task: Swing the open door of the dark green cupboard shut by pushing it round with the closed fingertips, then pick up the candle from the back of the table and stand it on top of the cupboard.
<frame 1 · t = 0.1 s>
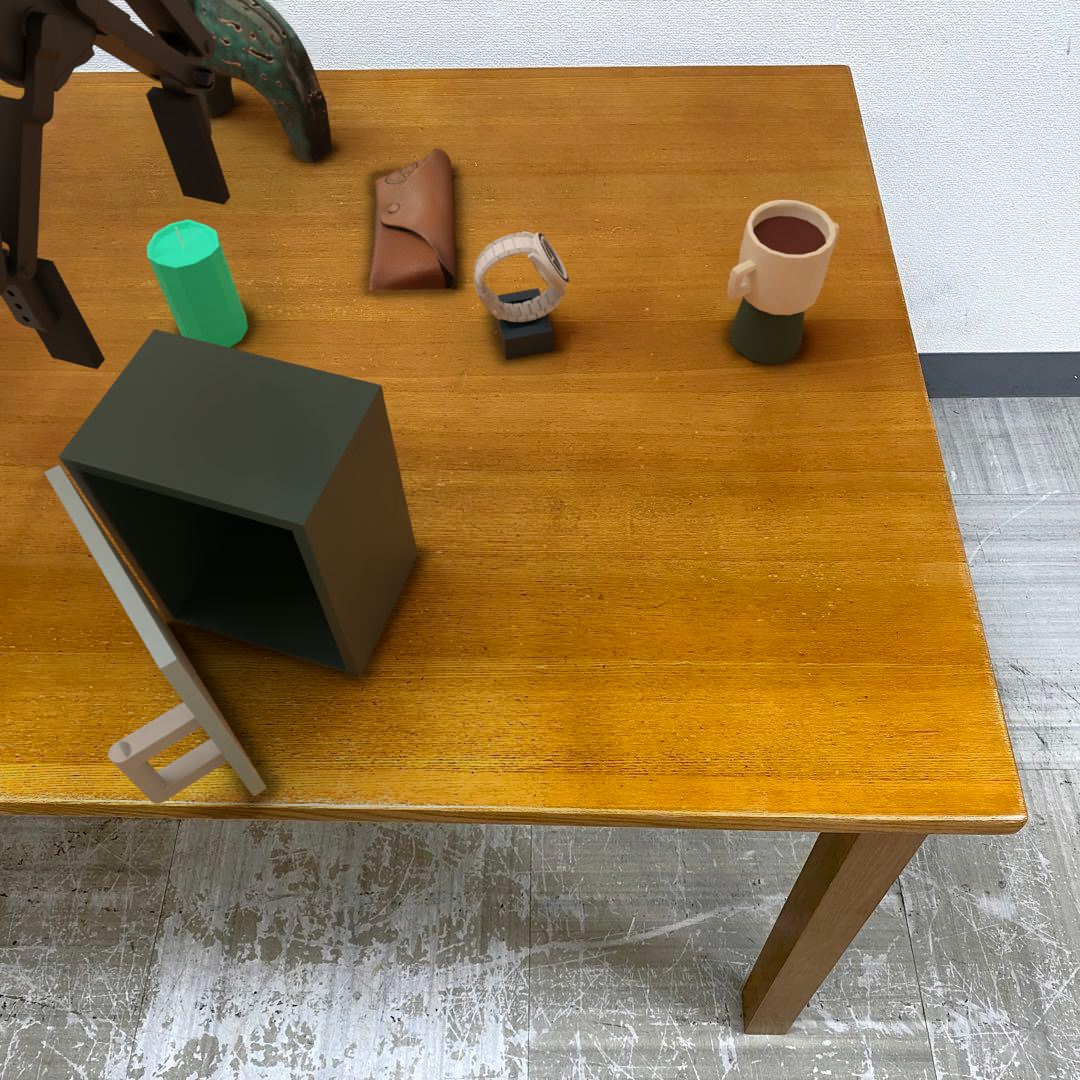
hand: (147, 273, 56), 28 cm above the table, tool pointing down, fingers open, 13 cm apart
character mug: (763, 346, 91), on the table
sunglasses case: (413, 236, 100), on the table
cabinet door: (126, 665, 63), point 10 cm above the table, hinge at 35.0°
watch: (523, 339, 92), on the table
candle: (217, 335, 93), on the table
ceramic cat: (263, 132, 110), on the table
cabinet: (295, 589, 78), on the table
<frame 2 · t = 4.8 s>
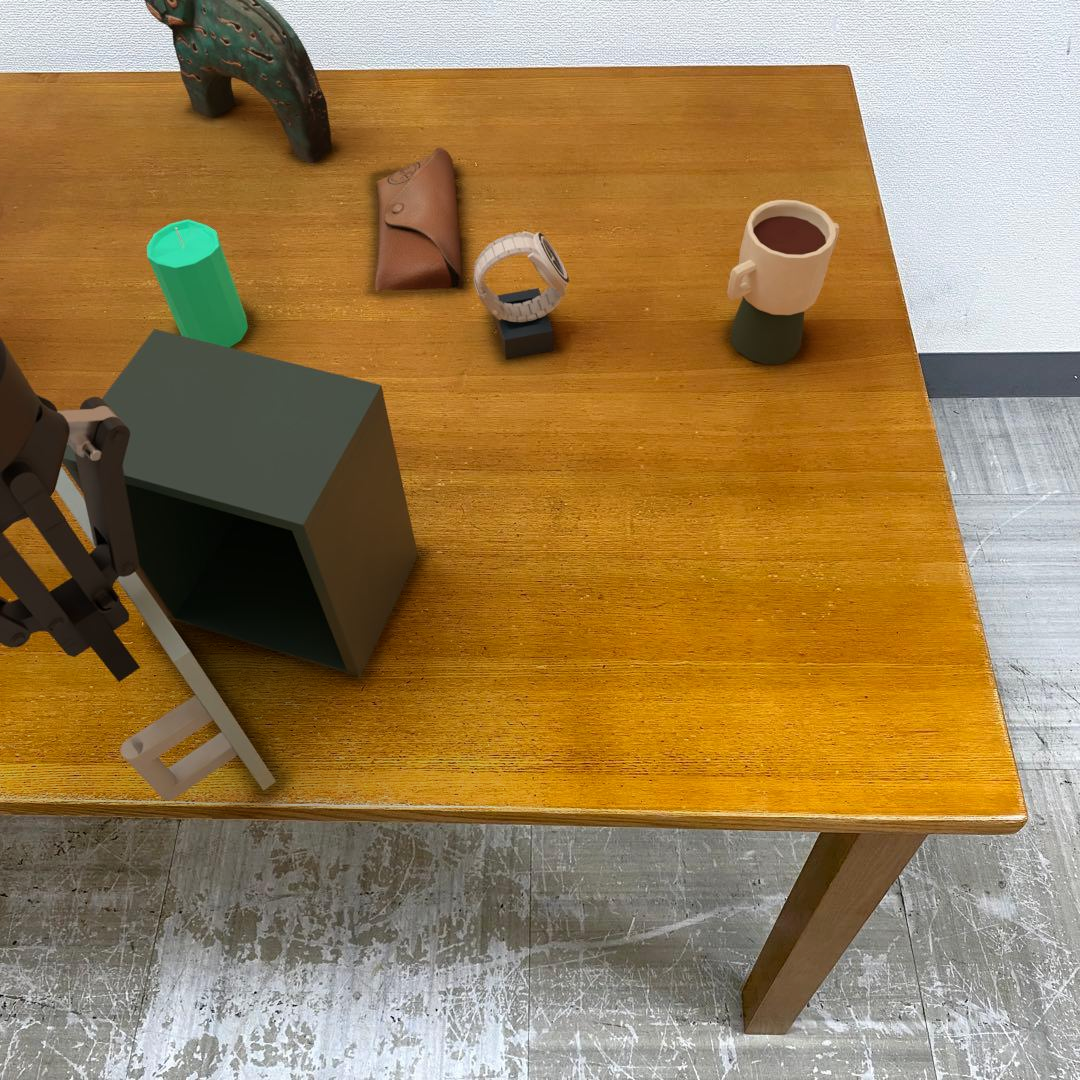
hand: (117, 658, 58), 15 cm above the table, tool pointing down, fingers closed
cabinet door: (132, 663, 63), point 10 cm above the table, hinge at 32.3°, touching gripper
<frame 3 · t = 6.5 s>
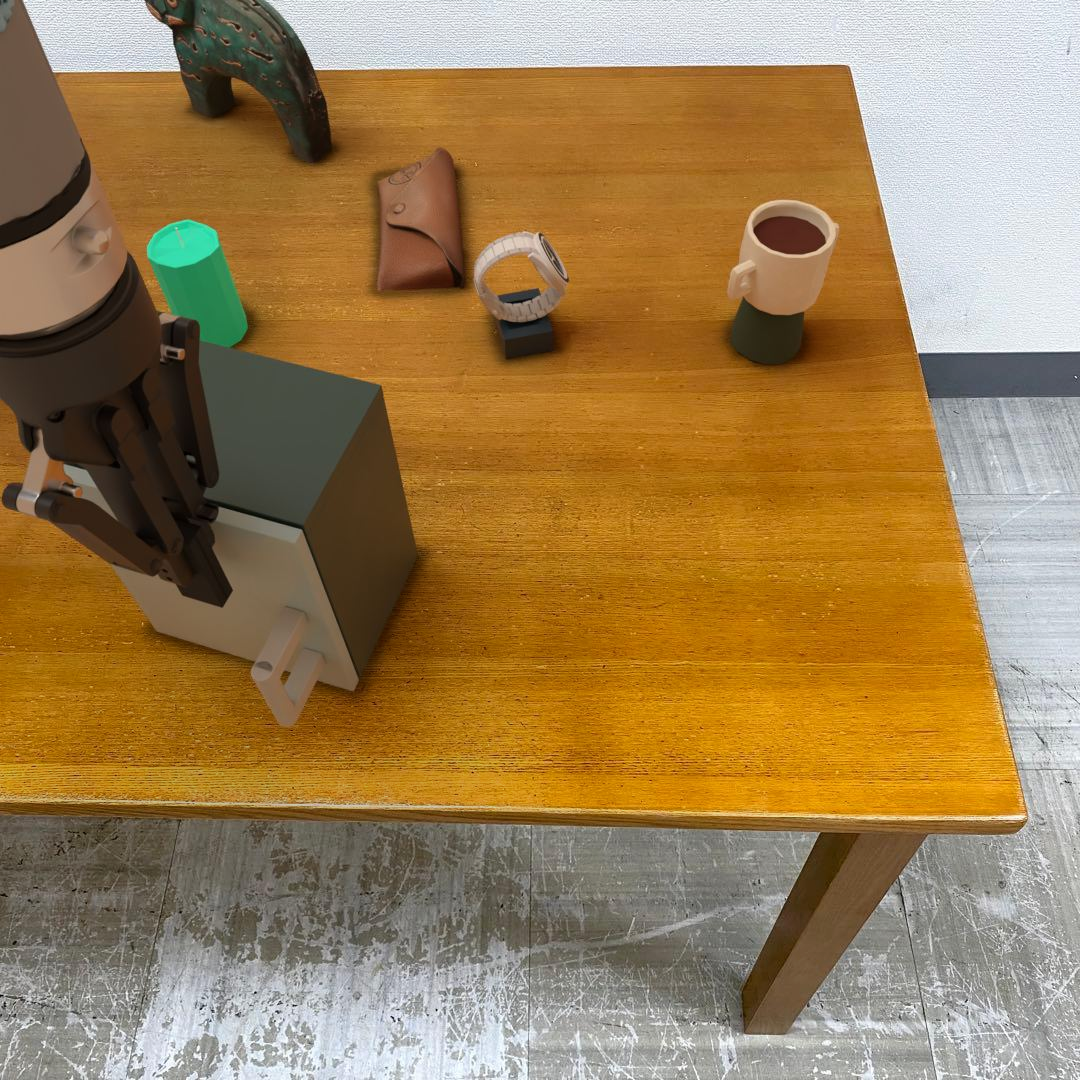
hand: (207, 592, 60), 15 cm above the table, tool pointing down, fingers closed
cabinet door: (200, 622, 65), point 10 cm above the table, hinge at -0.3°, touching gripper
everything else where it was.
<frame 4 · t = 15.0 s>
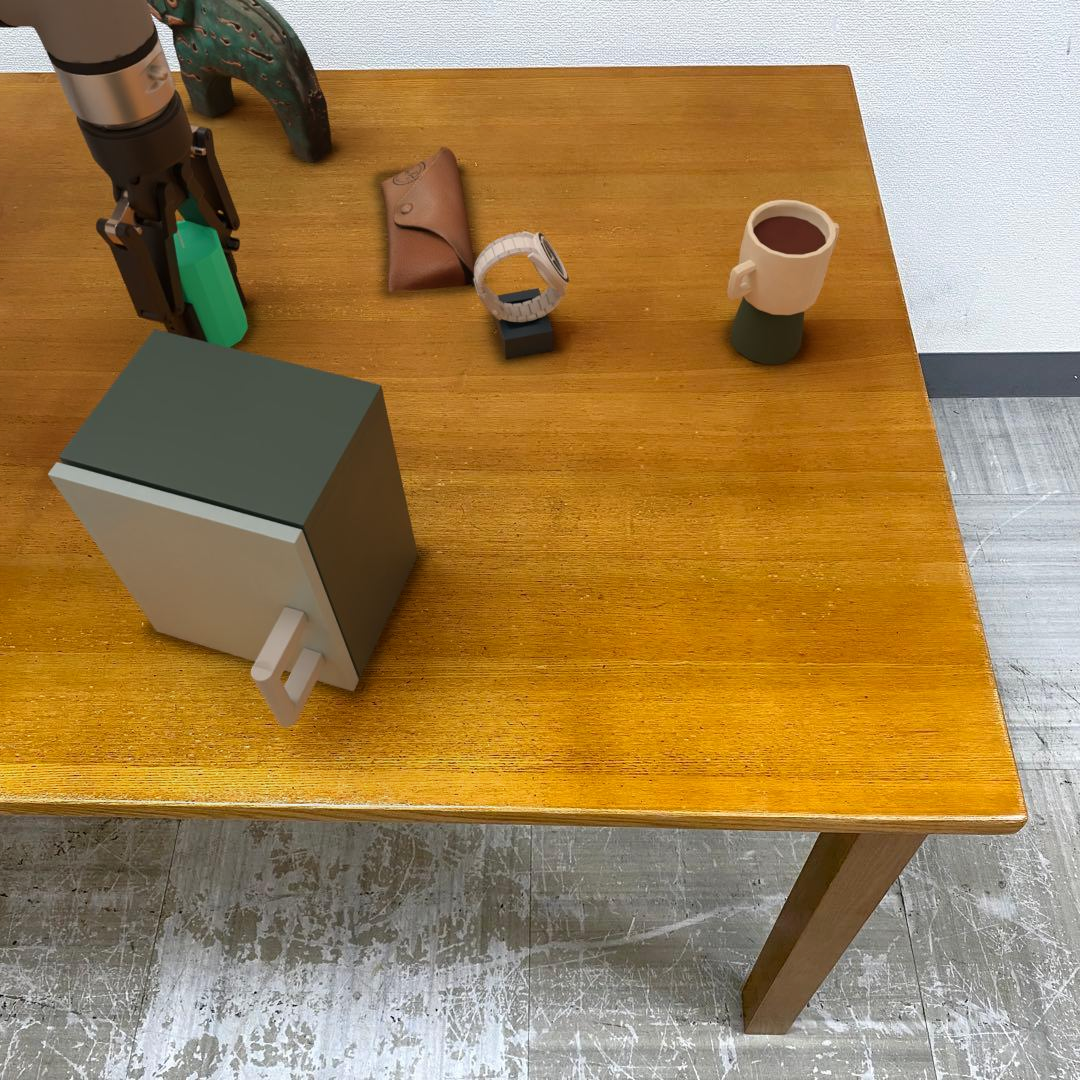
hand: (216, 331, 93), 0 cm above the table, tool pointing down, fingers closed on candle, 6 cm apart
cabinet door: (200, 622, 65), point 10 cm above the table, hinge at -0.3°
candle: (217, 335, 93), on the table, touching gripper
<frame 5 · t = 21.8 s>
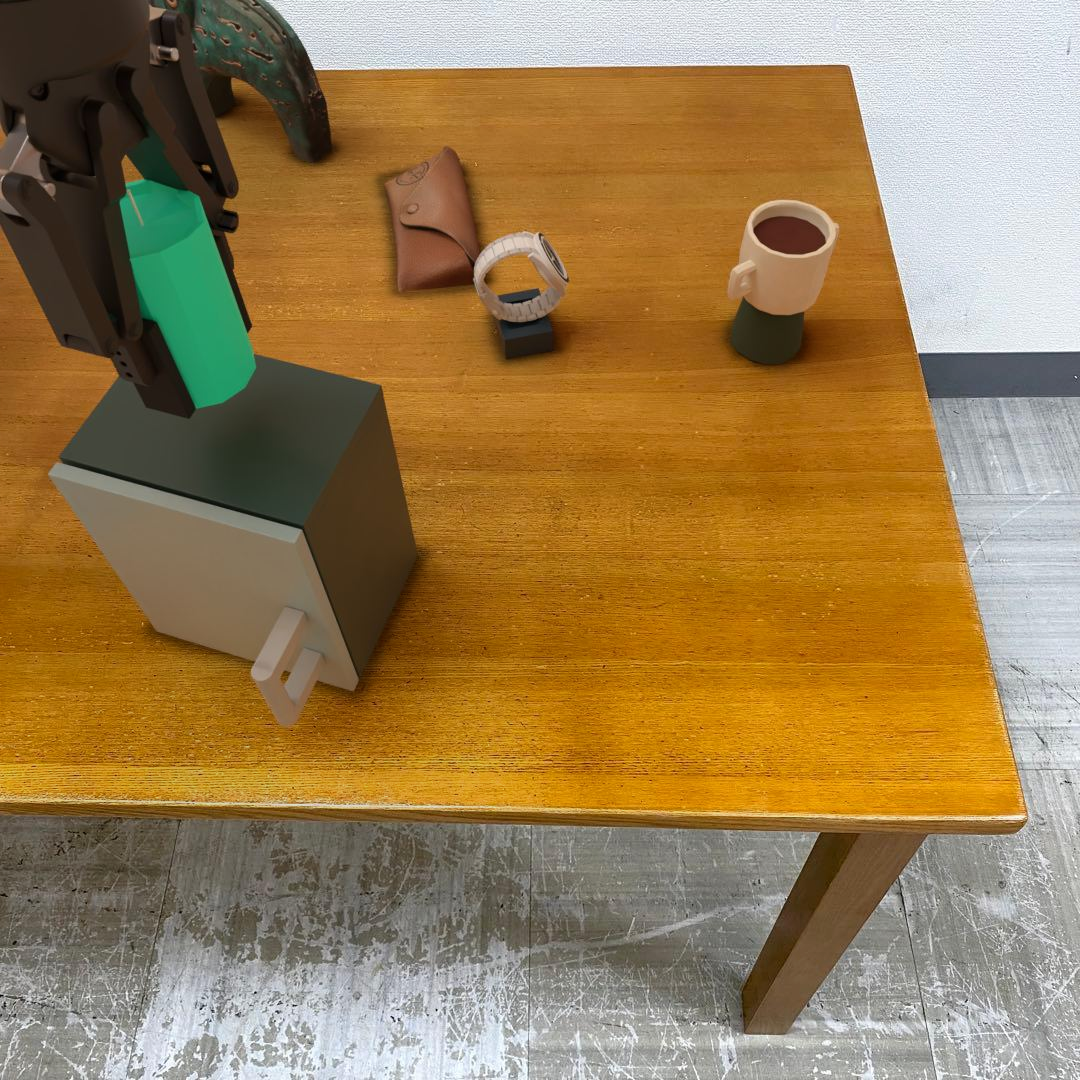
hand: (200, 365, 57), 25 cm above the table, tool pointing down, fingers closed on candle, 6 cm apart
candle: (204, 371, 58), point 24 cm above the table, touching gripper
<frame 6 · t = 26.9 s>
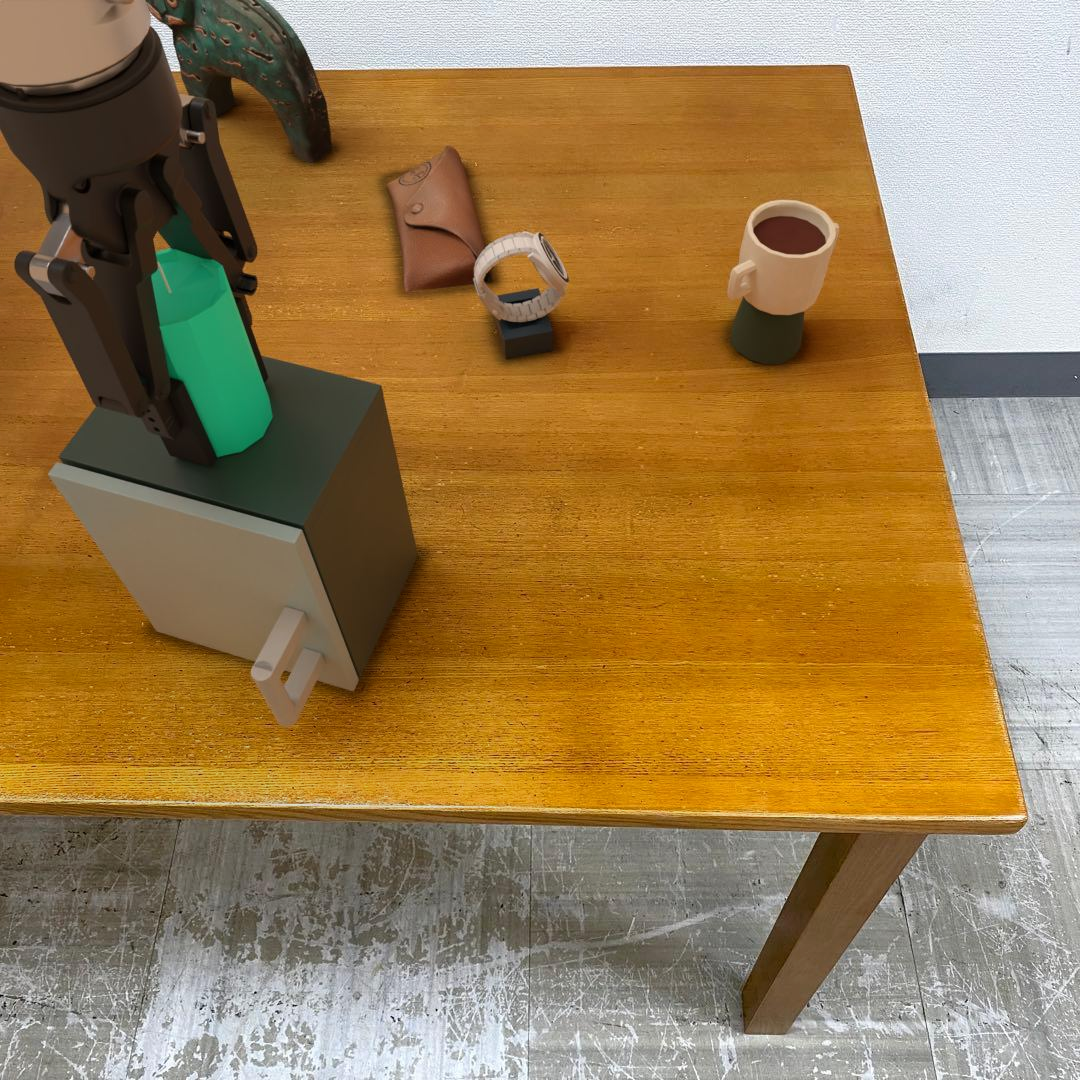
hand: (220, 415, 61), 20 cm above the table, tool pointing down, fingers closed on candle, 6 cm apart
candle: (223, 420, 61), point 20 cm above the table, touching gripper
when the fingers open (22 cm above the table, at t = 28.5 s): candle drops 1 cm, resting on cabinet.
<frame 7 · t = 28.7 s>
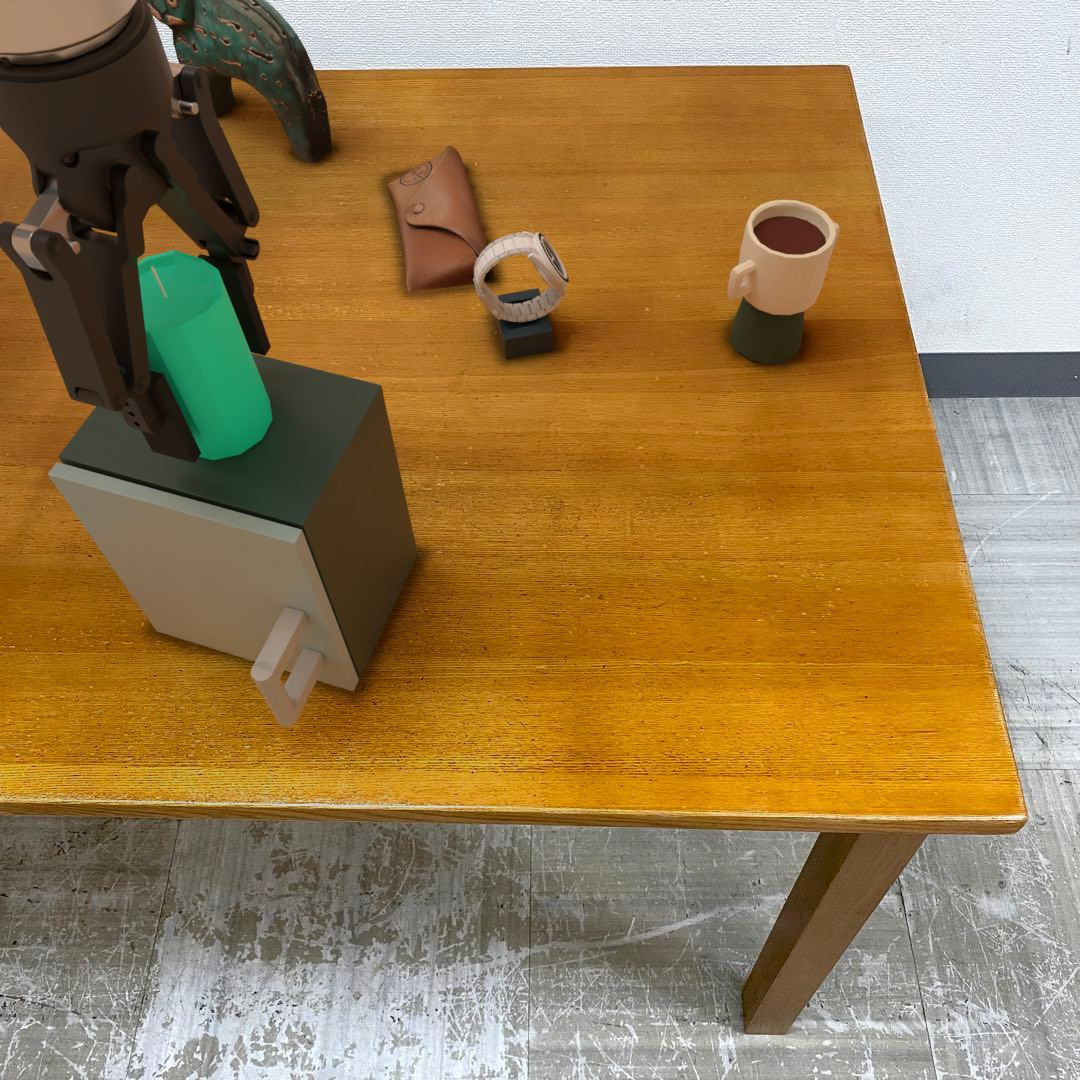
hand: (213, 397, 59), 22 cm above the table, tool pointing down, fingers open, 8 cm apart
candle: (224, 422, 61), point 20 cm above the table, touching cabinet
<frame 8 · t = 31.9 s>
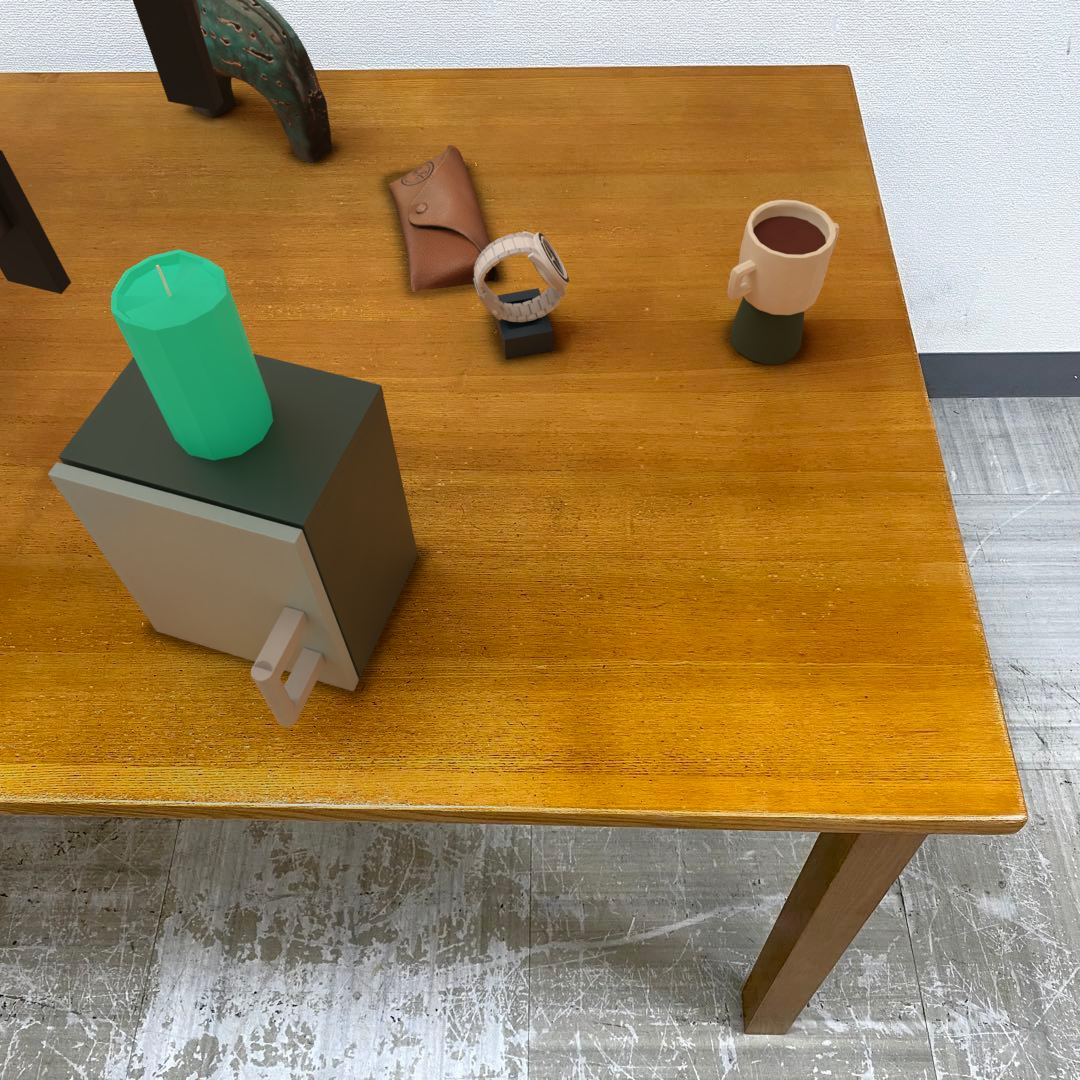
hand: (123, 186, 47), 37 cm above the table, tool pointing down, fingers open, 13 cm apart
at the end: cabinet door at +0° (first picture: +35°); candle inside the target area on the cabinet (0.1 cm from its centre), point 19.8 cm above the cabinet's base; candle tilted 0° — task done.
